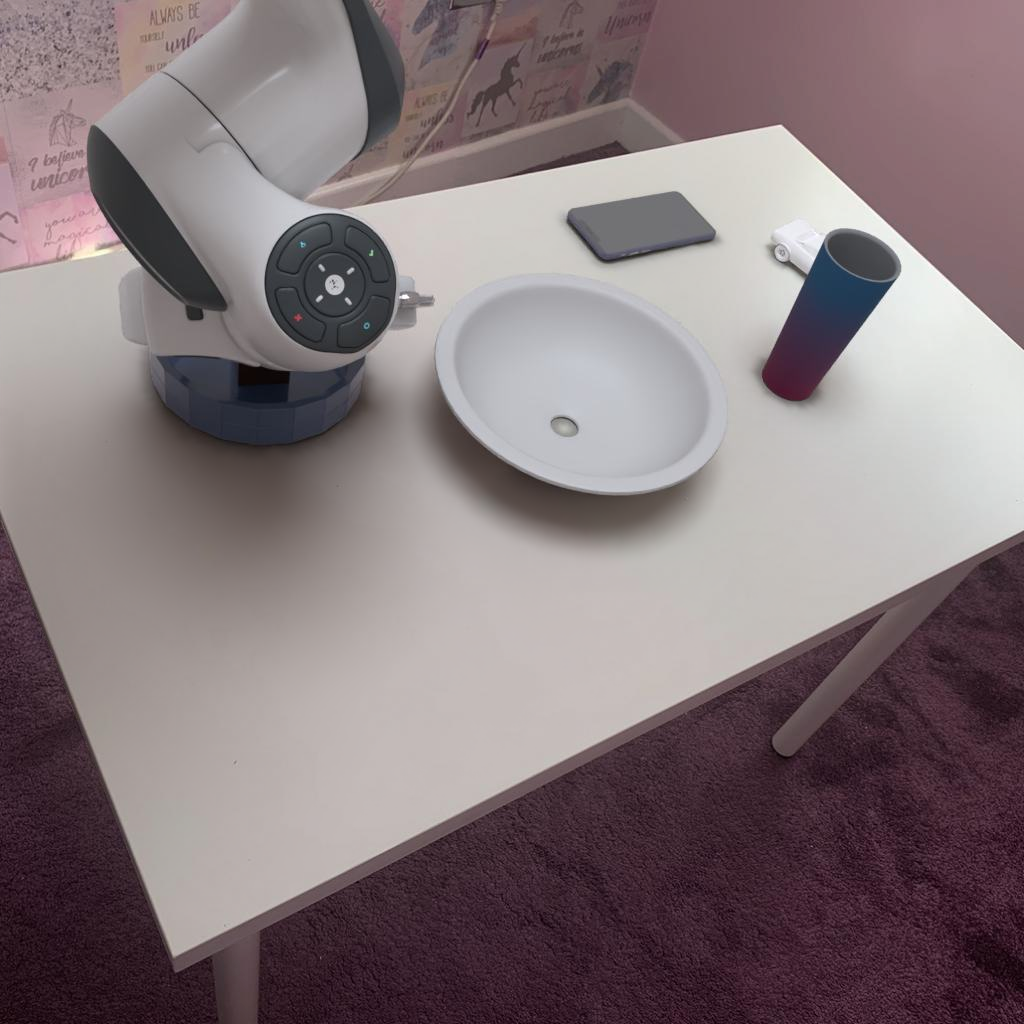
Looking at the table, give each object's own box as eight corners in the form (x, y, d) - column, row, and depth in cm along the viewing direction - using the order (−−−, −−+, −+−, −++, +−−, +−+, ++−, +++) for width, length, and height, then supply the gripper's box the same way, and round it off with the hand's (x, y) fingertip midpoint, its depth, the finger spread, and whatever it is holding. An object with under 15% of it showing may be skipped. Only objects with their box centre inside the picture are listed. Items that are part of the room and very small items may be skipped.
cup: (739, 374, 98) (809, 245, 87) (777, 345, 102) (849, 218, 90) (797, 419, 96) (877, 293, 85) (834, 387, 100) (915, 263, 88)
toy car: (845, 316, 107) (861, 291, 105) (759, 246, 112) (772, 220, 109) (875, 299, 110) (891, 274, 108) (790, 232, 114) (803, 206, 112)
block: (237, 386, 83) (240, 287, 75) (231, 349, 85) (233, 250, 77) (289, 383, 84) (297, 286, 76) (281, 348, 86) (288, 250, 79)
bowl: (160, 457, 78) (158, 415, 74) (142, 304, 87) (139, 261, 83) (379, 442, 83) (386, 403, 80) (341, 300, 92) (346, 259, 89)
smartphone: (720, 233, 110) (605, 256, 103) (716, 240, 110) (602, 264, 103) (678, 189, 113) (564, 208, 106) (675, 196, 114) (562, 216, 107)
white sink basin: (396, 330, 91) (407, 270, 86) (647, 327, 99) (671, 272, 94) (456, 556, 78) (474, 501, 73) (741, 533, 86) (774, 482, 81)
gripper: (440, 250, 71) (390, 268, 84) (115, 251, 64) (115, 270, 77) (444, 346, 72) (394, 348, 85) (125, 357, 65) (123, 358, 78)
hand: (259, 311), depth 81 cm, fingers open, 8 cm apart
